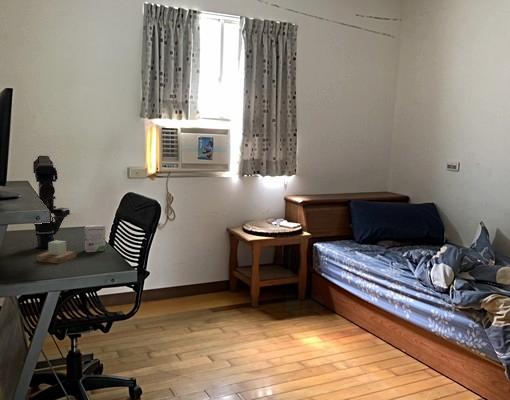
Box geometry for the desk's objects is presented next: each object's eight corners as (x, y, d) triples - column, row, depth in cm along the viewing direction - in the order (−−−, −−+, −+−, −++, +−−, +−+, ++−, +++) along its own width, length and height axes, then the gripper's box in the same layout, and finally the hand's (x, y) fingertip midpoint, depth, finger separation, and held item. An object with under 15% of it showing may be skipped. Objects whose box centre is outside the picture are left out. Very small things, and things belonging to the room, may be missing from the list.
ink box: (103, 248, 230) (103, 224, 228) (105, 251, 225) (105, 226, 224) (84, 250, 225) (84, 225, 224) (86, 252, 221) (86, 227, 219)
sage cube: (48, 254, 207) (48, 242, 206) (56, 251, 212) (55, 240, 211) (58, 255, 206) (58, 243, 205) (66, 252, 211) (65, 241, 210)
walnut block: (37, 262, 205) (37, 255, 205) (54, 256, 216) (54, 249, 215) (60, 264, 203) (60, 257, 202) (76, 258, 213) (76, 251, 213)
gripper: (13, 195, 200) (14, 232, 202) (53, 198, 196) (54, 236, 198) (31, 192, 211) (33, 227, 213) (70, 195, 207) (70, 231, 209)
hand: (47, 230), depth 208 cm, fingers open, 9 cm apart
